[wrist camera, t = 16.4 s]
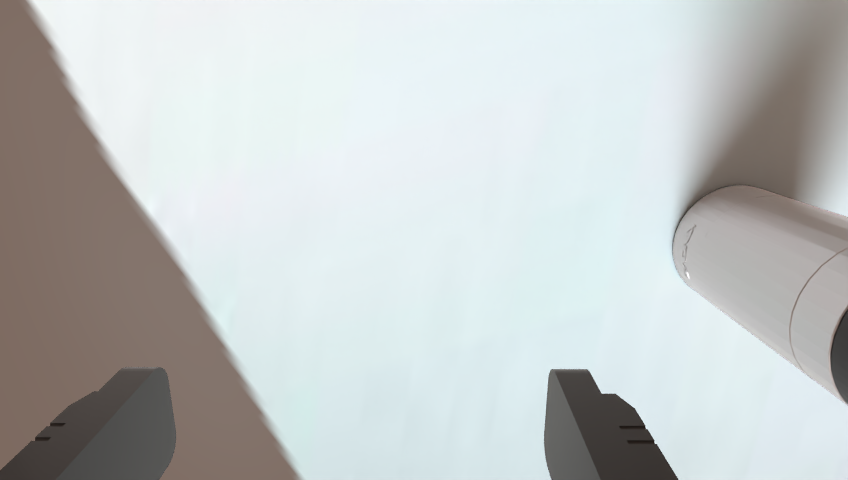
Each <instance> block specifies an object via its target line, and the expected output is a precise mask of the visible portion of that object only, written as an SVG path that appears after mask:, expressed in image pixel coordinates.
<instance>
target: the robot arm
mask: <svg viewBox="0 0 848 480" xmlns="http://www.w3.org/2000/svg"><path fill="white" fill-rule="evenodd" d="M673 259H674V263H675V267H676V269H677V271H678V273H679V275H680V277H681V278H682V280H683V281H684V282H685V283H686V284H687V285H688V286H689V287H690V288H692V289H693V290H694V291H696V292H697V293H698V294H700V295H701V296H702V297H704V298H705V299H706V300H708V301H709V302H710V303H712V304H713V305H714V306H715V307H717V308H718V309H719V310H720V311H722V312H723V313H724V314H726V315H727V316H728V317H730V318H731V319H732V320H734V321H735V322H736V323H738V324H739V325H740V326H742V327H743V328H744V329H746V330H747V331H748V332H750V333H751V334H752V335H754V336H755V337H756V338H758V339H759V340H760V341H762V342H763V343H765V344H766V345H767V346H769V347H770V348H771V349H773V350H774V351H775V352H777V353H778V354H779V355H781V356H782V357H783V358H785V359H786V360H787V361H789V362H790V363H791V364H793V365H794V366H795V367H797V368H798V369H799V370H801V371H802V372H803V373H805V374H806V375H807V376H809V377H810V378H811V379H813V380H814V381H816V382H817V383H818V384H820V385H821V386H822V387H824V388H825V389H826V390H828V391H829V392H830V393H832V394H833V395H834V396H836V397H837V398H838V399H840V400H841V401H842V402H844V403H845V404H846V405H848V217H846V216H843V215H840V214H837V213H834V212H831V211H828V210H824V209H821V208H818V207H815V206H812V205H809V204H806V203H803V202H800V201H797V200H794V199H791V198H788V197H785V196H782V195H779V194H776V193H773V192H769V191H766V190H763V189H760V188H756V187H751V186H747V185H737V186H729V187H725V188H720V189H718V190H716V191H714V192H711V193H709V194H707V195H706V196H704V197H703V198H701V199H700V200H699V201H697V202H696V203H695V204H694V205H693V206H692V207H691V208H690V209H689V210H688V211H687V213H686V214H685V216H684V217H683V219H682V220H681V222H680V224H679V226H678V228H677V231H676V233H675V238H674V242H673ZM175 443H176V430H175V423H174V416H173V409H172V402H171V397H170V389H169V382H168V377H167V373H166V372H165V370H164V369H163V368H160V367H158V368H157V367H125V368H122V369H121V370H119V371H118V372H117V373H116V374H115V375H114V376H113V377H112V378H111V379H110V380H109V381H108V382H107V383H106V384H105V385H104V386H103V387H102V388H101V389H100V390H99V391H98V392H96V391H94V392H92V393H91V394H89V395H87V396H85V397H84V398H82V399H80V400H78V401H77V402H75V403H73V404H71V405H70V406H68V407H67V408H66V409H65V410H64V411H63V412H62V413H61V414H59V416H57V417H56V418H55V419H54V420H53V421H52V422H51V423H50V426H49V427H46V428H45V429H44V430H43V431H41V433H39V434H38V435H37V436H36V438H35V441H31V442H30V443H29V444H28V445H27V446H26V447H25V448H24V449H22V450H21V451H20V452H19V453H18V454H17V455H16V456H15V457H14V458H13V459H12V460H11V461H10V462H9V463H8V464H7V465H6V466H5V467H3V468H2V469H1V470H0V480H159V479H160V477H161V476H162V474H163V473H164V471H165V470H166V468H167V467H168V465H169V463H170V461H171V459H172V456H173V453H174V449H175ZM544 446H545V456H546V462H547V466H548V470H549V473H550V476H551V480H678V478H677V477H676V475H675V473H674V472H673V470H672V468H671V467H670V465H669V464H668V462H667V460H666V459H665V457H664V455H663V454H662V452H661V451H660V449H659V447H658V446H657V444H655V443H654V439H653V438H652V436H651V434H650V433H649V431H648V429H646V428H645V425H644V423H643V421H642V420H641V418H640V416H639V415H638V413H637V412H636V410H635V408H633V407H632V406H631V405H629V404H628V403H627V402H625V401H624V400H623V399H621V398H620V397H619V396H618V395H616V394H601V392H600V390H599V388H598V387H597V385H596V383H595V381H594V379H593V377H592V375H591V374H590V372H589V371H588V370H587V369H552V370H551V371H550V373H549V379H548V391H547V404H546V418H545V431H544Z"/></svg>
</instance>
